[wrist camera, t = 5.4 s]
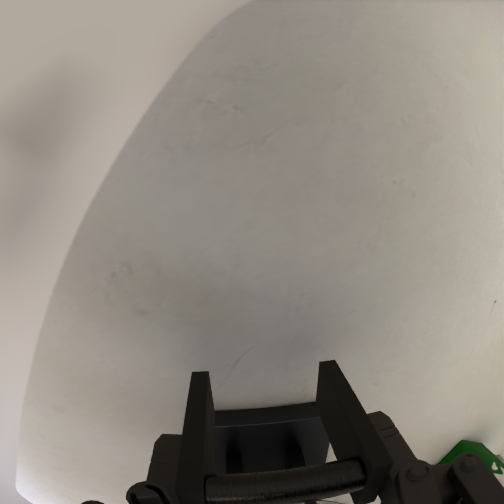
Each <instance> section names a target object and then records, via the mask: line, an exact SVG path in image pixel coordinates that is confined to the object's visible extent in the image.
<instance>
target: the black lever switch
mask: <svg viewBox="0 0 504 504" xmlns="http://www.w3.org/2000/svg"><path fill="white" fill-rule="evenodd" d="M315 404H316V402H312V403H305V404H298V405H290V406H281V407H272V408H261V409H248V410H231V411H215V432H214V474H242V473H256V472H268V471H277V470H285V469H293V468H300V467H306V466H312V465H318V464H323V463H325V462H326V457H327V453H328V448H329V443H330V441H329V438H328V436H327V433H326V430H325V428H324V425H323V423H322V420H321V418H320V415H319V413H318V410H317V407H316V405H315ZM305 504H317V501H316V500H315V501H310V502H305Z"/></svg>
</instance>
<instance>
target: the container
mask: <svg viewBox="0 0 504 504" xmlns="http://www.w3.org/2000/svg"><path fill="white" fill-rule="evenodd" d="M317 504H339V503H334V502H327V501H317Z"/></svg>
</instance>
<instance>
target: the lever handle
mask: <svg viewBox="0 0 504 504" xmlns="http://www.w3.org/2000/svg"><path fill="white" fill-rule="evenodd" d="M365 485H366V470H365V467H364V464H363V462H362V460H361V459H360V458H359V457H357V456H355V457H351V458H346V459H342V460H338V461H333V462H328V463H323V464H318V465H312V466H306V467H300V468H293V469H285V470H277V471H268V472H256V473H242V474H207V475H205V478H204V498H205V504H305V502H310V501H315V500H320V499H325V498H330V497H335V496H339V495H343V494H347V493H351V492H355V491H359V490H362V489H363V488H364V487H365Z"/></svg>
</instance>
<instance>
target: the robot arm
mask: <svg viewBox="0 0 504 504" xmlns="http://www.w3.org/2000/svg"><path fill="white" fill-rule="evenodd" d="M315 405H316V407H317V410H318V413H319V415H320V418H321V420H322V423H323V425H324V428H325V430H326V433H327V436H328V438H329V441H330V443H331V446H332V448H333V451H334V453H335V456H336V459H337V461H338V460H342V459H346V458H351V457H355V456H357V457H359V458H360V459H361V460H362V462H363V464H364V467H365V470H366V485H365V487H364V488H363V489H362V490H359V491H355V492H351V493H350V495H351V497H352V500H353V502H354V504H367V503H371V502H374V501H375V499H376V497H377V496H378V495H379V497H380V500H381V503H380V504H504V487H503V486H502V484H501V483H500V482H499V480H498V479H497V478H496V476H495V475H494V474H493V473H492V471H491V470H490V469H489V467H488V466H487V465H486V464H485V462H484V461H483V460H482V459H481V457H479V456H478V455H477V454H474V453H472V452H465V453H462V454H460V455H458V456H457V457H456V458H455V460H454V461H453V463H447V464H440V465H430V464H428V463H427V462H425V461H422V460H418V459H417V458H416V457H415V455H414V454H413V452H412V451H411V449H410V448H409V446H408V445H407V443H406V442H405V440H404V438H403V437H402V435H401V434H399V431H398V429H397V428H396V427H395V425H394V423H393V422H392V420H391V419H390V417H389V416H387V415H386V414H384V413H383V412H381V411H377V412H373V413H369V414H366V412H365V410H364V409H363V407H362V405H361V403H360V402H359V400H358V398H357V397H356V395H355V393H354V391H353V390H352V388H351V386H350V385H349V383H348V381H347V379H346V378H345V376H344V374H343V373H342V371H341V369H340V368H339V366H338V364H337V363H336V361H335V360H330V361H323V362H319V373H318V384H317V394H316V404H315ZM214 432H215V411H214V404H213V398H212V391H211V384H210V377H209V371H202V372H192V375H191V381H190V388H189V394H188V400H187V406H186V413H185V419H184V426H183V433H182V435H178V434H162V435H161V436H160V437H159V438H158V440H157V441H156V442H155V445H154V449H153V455H152V458H151V463H150V467H149V471H148V476H147V481H143V482H139V483H136V484H135V485H133V486H131V487H130V489H129V490H128V491H127V494H126V500H127V501H128V502H129V504H205V498H204V478H205V475H207V474H214ZM82 504H104V503H101V502H99V501H92V500H90V501H86V502H83V503H82Z"/></svg>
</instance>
